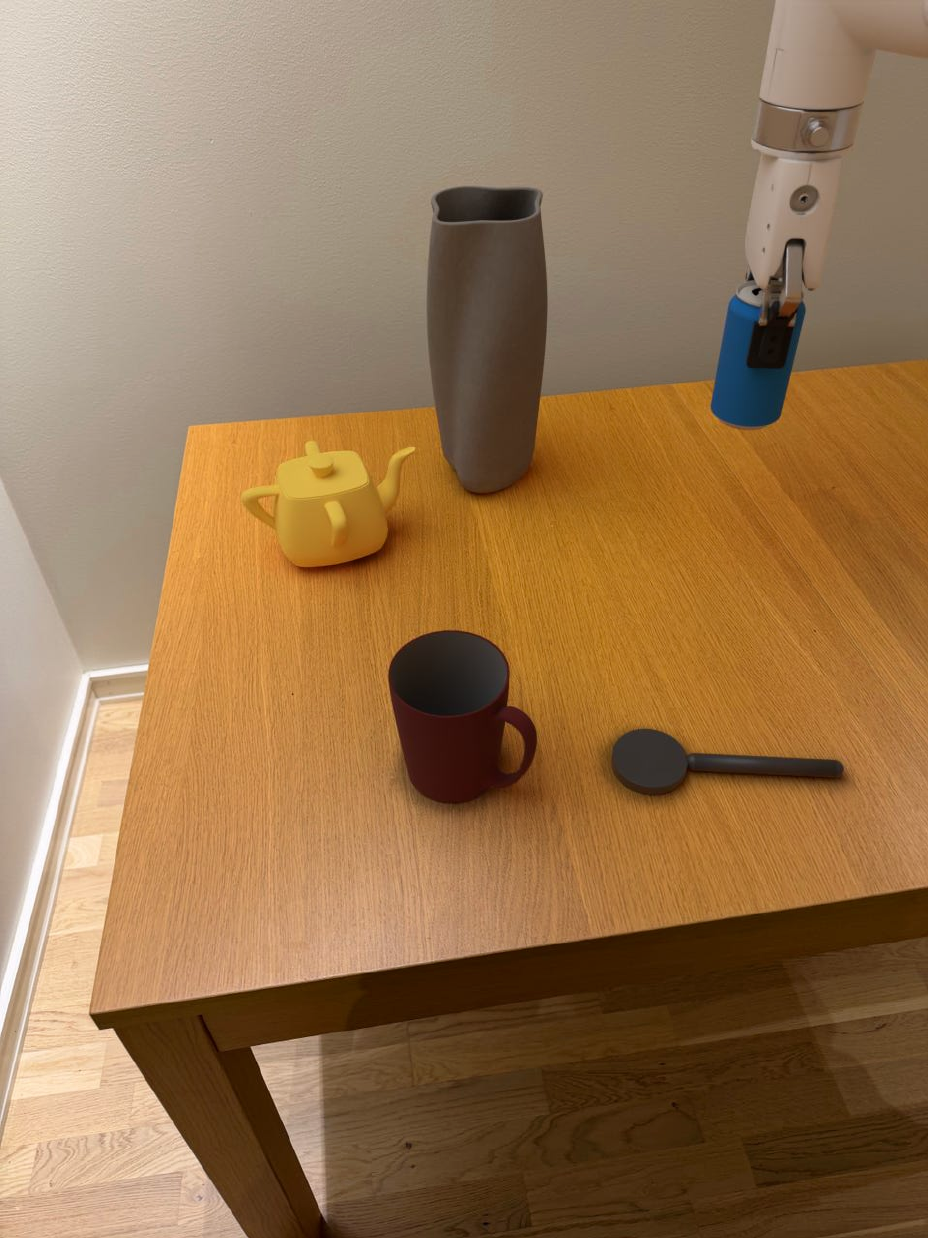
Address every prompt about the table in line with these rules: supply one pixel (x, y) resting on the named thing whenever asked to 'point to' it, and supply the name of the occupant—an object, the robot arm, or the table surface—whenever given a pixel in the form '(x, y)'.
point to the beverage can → (750, 391)
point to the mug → (455, 714)
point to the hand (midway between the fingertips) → (758, 346)
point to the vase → (487, 329)
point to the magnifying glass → (696, 763)
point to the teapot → (328, 506)
